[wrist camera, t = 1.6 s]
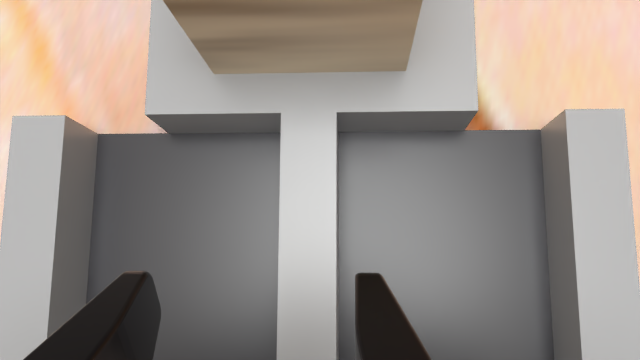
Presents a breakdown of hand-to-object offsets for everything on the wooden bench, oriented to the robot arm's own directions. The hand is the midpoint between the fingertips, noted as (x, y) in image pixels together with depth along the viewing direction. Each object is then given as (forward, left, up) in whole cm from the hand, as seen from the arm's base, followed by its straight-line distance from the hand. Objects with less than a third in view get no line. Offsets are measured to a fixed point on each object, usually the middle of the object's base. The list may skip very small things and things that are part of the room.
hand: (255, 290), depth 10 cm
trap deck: (+7, +7, -14) cm, 17 cm away
